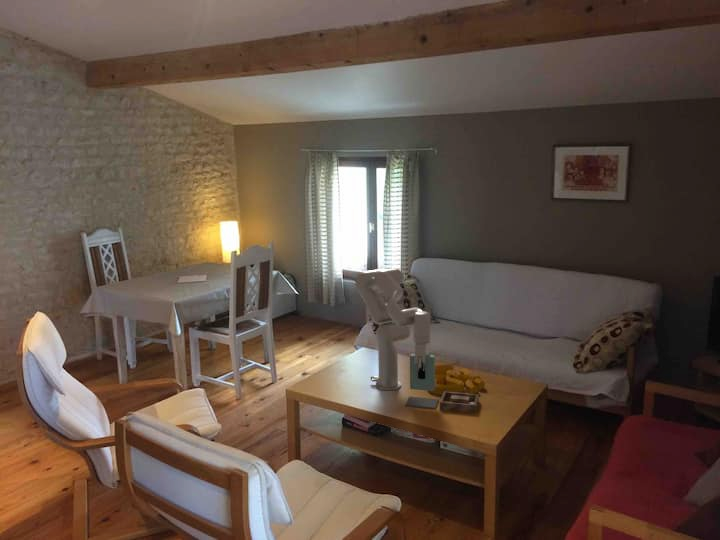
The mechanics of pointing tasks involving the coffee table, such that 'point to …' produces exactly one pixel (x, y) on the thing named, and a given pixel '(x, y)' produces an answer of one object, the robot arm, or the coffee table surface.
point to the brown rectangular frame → (459, 406)
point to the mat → (422, 402)
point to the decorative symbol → (455, 380)
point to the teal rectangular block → (429, 374)
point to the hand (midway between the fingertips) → (422, 376)
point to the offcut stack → (460, 399)
